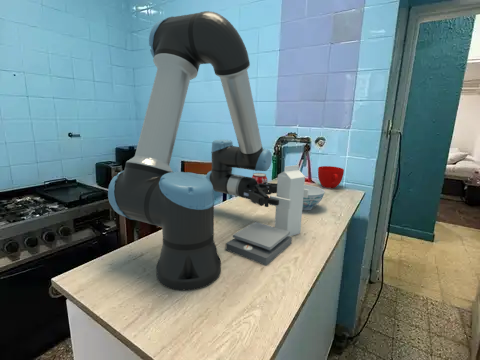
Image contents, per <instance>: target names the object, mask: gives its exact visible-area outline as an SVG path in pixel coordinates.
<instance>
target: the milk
mask: <svg viewBox="0 0 480 360" xmlns="http://www.w3.org/2000/svg"><path fill="white" fill-rule="evenodd" d="M305 182H306V175H304V174H303V173H302V171H301V170H300V165H299V164H296V165H286V166H284V171H282V172H280V173H279V174H277V182H276V183H277V193H276V197H280V198H285V199H290V200H291V204H290V209H286V208H282V207H277V206H275V216H274V217H275V219H274V227H276V228H279V229H283V230H286V231H289V232H290V235H288V236H290V237H293V236H295V235H299V234H301V228H302V219H303V217H302V216H303V210H302V207H303V196H304V185H306V184H305Z"/></svg>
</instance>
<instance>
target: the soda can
mask: <svg viewBox="0 0 480 360" xmlns="http://www.w3.org/2000/svg"><path fill="white" fill-rule="evenodd" d="M251 178H254V179H256V181H257V183H258V184H260V183H263V184H264V182H267V183H268V177H267V174H266V173H264V172H263V173H262V172H254V173H252V176H251Z"/></svg>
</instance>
